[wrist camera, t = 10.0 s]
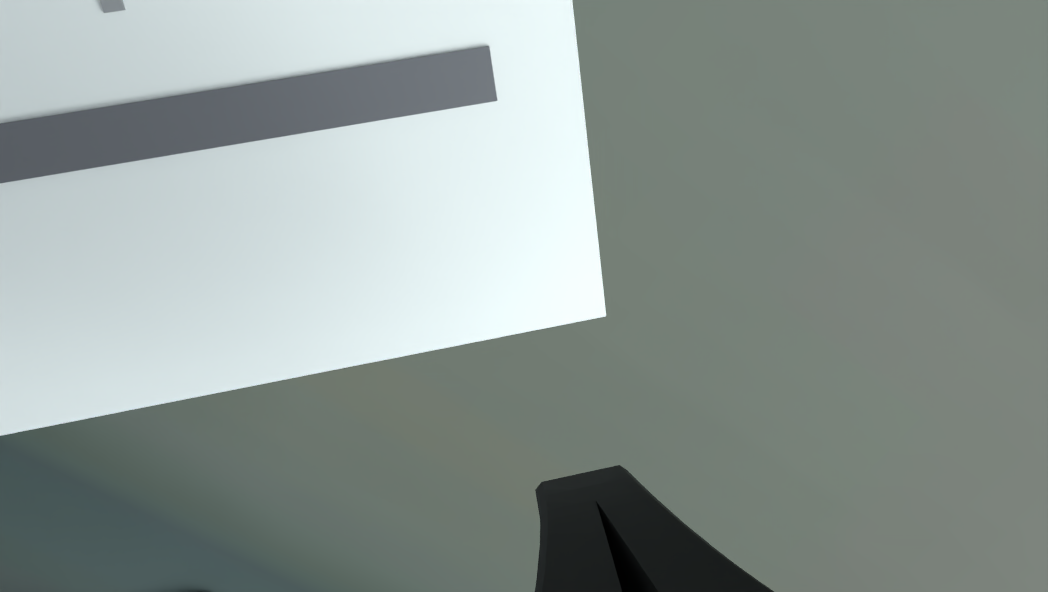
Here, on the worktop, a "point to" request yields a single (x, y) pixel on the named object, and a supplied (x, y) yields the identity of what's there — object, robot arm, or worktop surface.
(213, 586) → the worktop surface
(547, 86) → the fader console
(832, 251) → the worktop surface
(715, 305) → the worktop surface
